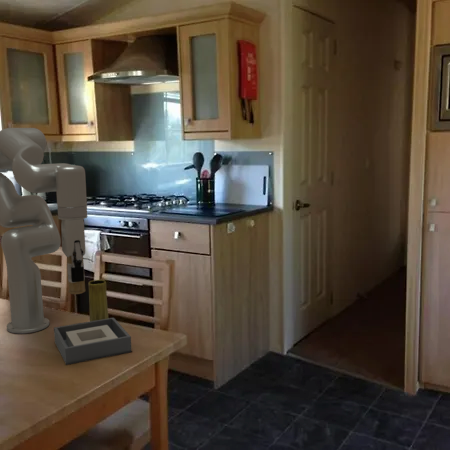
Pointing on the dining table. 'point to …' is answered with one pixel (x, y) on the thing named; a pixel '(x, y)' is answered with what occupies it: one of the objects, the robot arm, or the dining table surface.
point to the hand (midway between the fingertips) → (76, 278)
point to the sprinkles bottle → (74, 286)
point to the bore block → (89, 335)
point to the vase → (98, 300)
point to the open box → (95, 348)
